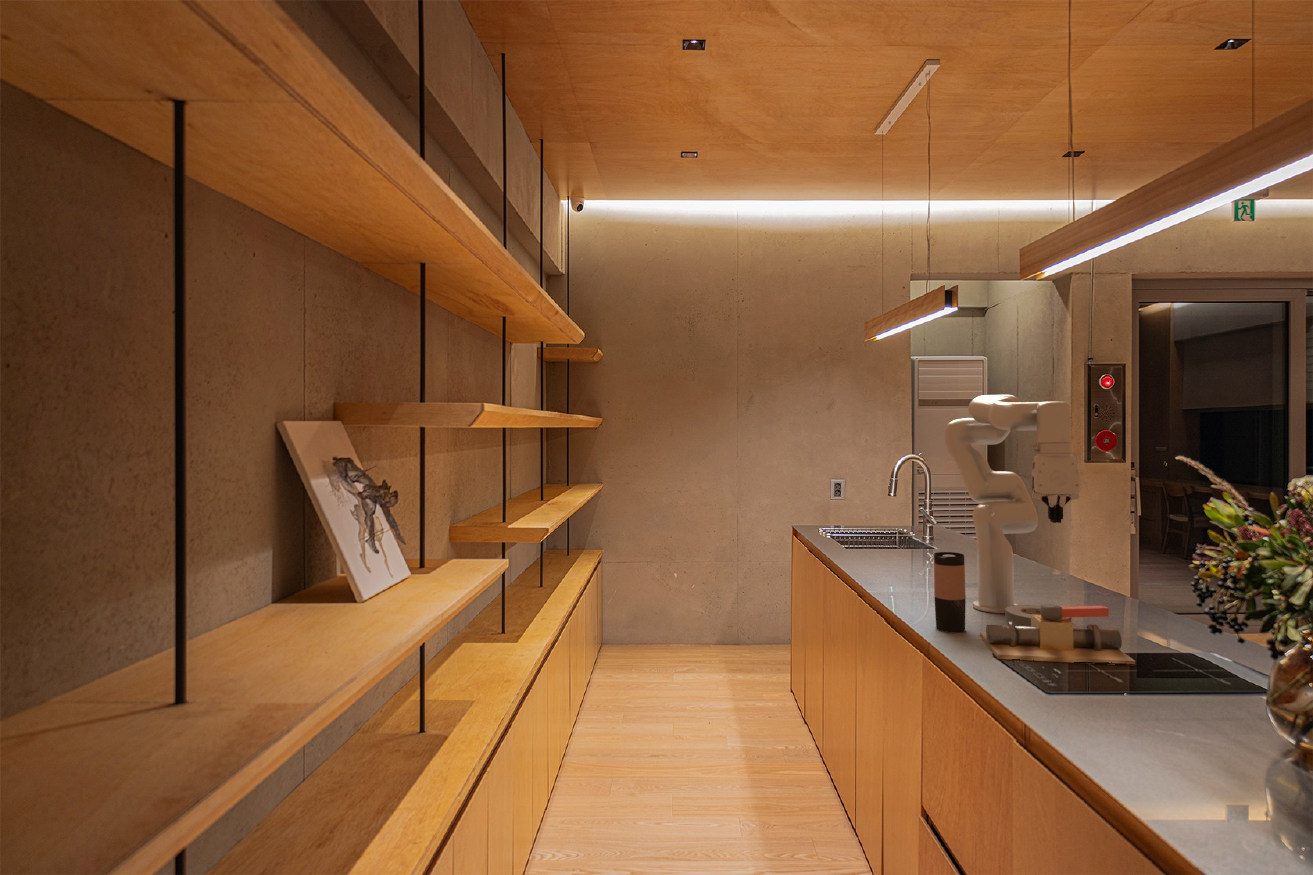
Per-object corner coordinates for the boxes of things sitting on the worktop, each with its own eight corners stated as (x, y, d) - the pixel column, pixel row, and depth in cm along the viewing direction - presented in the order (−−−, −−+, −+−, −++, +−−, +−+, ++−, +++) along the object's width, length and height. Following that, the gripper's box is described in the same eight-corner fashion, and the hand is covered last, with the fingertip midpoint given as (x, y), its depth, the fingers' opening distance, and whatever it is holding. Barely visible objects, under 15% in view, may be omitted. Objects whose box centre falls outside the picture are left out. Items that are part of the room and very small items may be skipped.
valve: (992, 651, 165) (991, 619, 165) (985, 642, 171) (984, 612, 172) (1124, 657, 158) (1123, 624, 158) (1111, 648, 165) (1111, 617, 165)
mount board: (997, 658, 159) (997, 654, 159) (980, 636, 177) (979, 632, 177) (1135, 665, 153) (1135, 660, 153) (1102, 641, 170) (1102, 637, 170)
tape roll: (1074, 628, 184) (1074, 608, 184) (1068, 642, 171) (1068, 622, 171) (1010, 620, 193) (1010, 601, 193) (1000, 633, 180) (1000, 613, 180)
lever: (1047, 619, 163) (1047, 608, 163) (1036, 615, 167) (1036, 604, 167) (1111, 618, 163) (1111, 607, 163) (1099, 613, 167) (1099, 602, 167)
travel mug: (960, 625, 187) (959, 551, 188) (970, 633, 180) (968, 556, 180) (931, 625, 188) (929, 551, 188) (940, 633, 181) (938, 556, 181)
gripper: (1026, 450, 174) (1027, 523, 174) (1092, 449, 170) (1094, 524, 170) (1017, 450, 181) (1019, 520, 181) (1081, 449, 177) (1082, 520, 177)
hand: (1055, 522), depth 176 cm, fingers closed
